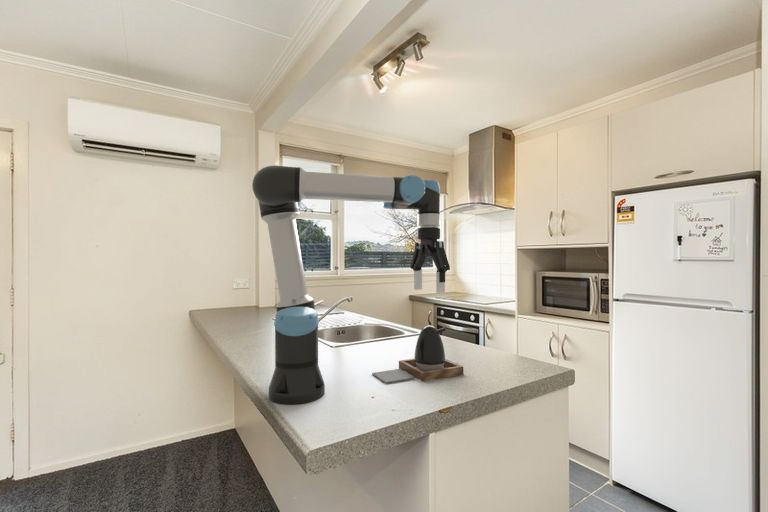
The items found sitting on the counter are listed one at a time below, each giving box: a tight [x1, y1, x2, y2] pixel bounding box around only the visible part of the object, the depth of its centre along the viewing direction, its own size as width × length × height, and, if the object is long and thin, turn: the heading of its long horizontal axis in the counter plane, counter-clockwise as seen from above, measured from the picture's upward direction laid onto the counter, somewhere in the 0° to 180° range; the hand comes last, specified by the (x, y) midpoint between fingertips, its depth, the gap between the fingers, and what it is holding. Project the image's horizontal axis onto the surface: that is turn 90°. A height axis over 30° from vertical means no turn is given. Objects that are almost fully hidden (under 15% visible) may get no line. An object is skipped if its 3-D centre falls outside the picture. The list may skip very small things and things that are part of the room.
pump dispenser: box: [413, 324, 447, 372], centre depth 123 cm, size 10×10×15 cm
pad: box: [371, 368, 416, 385], centre depth 118 cm, size 10×10×1 cm
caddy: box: [398, 358, 464, 382], centre depth 123 cm, size 15×15×2 cm
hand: (428, 291), depth 124 cm, fingers open, 13 cm apart
